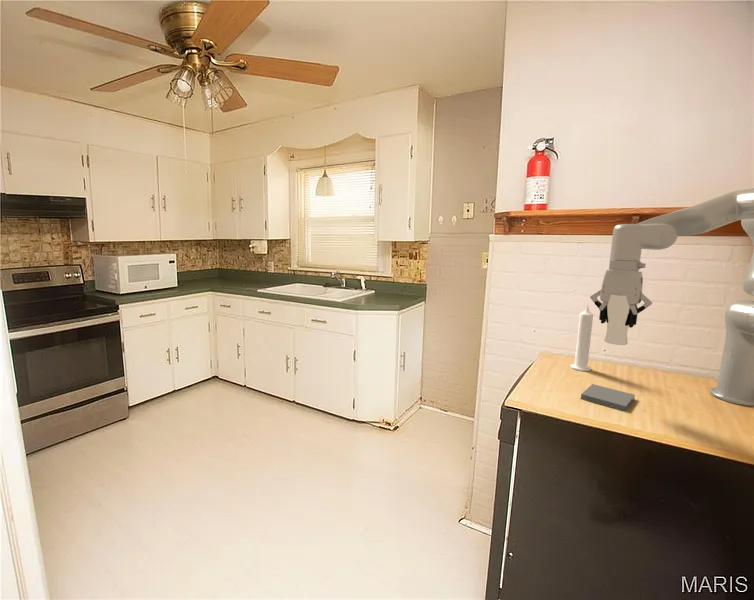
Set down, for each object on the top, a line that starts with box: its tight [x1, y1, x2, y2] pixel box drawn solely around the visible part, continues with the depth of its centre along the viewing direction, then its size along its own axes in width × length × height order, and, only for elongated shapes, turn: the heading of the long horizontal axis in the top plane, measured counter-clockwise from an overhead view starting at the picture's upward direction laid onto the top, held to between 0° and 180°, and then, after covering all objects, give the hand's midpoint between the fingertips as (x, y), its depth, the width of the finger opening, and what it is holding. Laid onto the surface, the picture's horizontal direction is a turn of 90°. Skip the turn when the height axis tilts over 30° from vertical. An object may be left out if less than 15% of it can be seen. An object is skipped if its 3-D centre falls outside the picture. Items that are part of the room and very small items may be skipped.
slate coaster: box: [580, 383, 636, 412], centre depth 118 cm, size 12×12×2 cm
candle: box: [570, 305, 594, 372], centre depth 144 cm, size 7×7×25 cm
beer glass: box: [604, 294, 632, 346], centre depth 114 cm, size 7×7×15 cm
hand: (616, 324), depth 114 cm, fingers closed on beer glass, 6 cm apart
